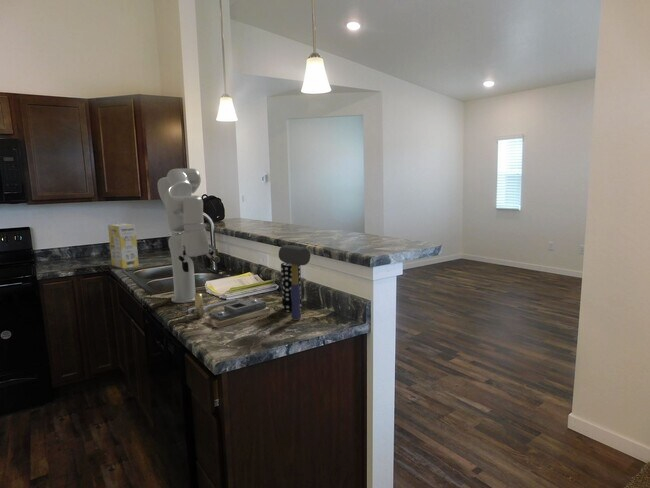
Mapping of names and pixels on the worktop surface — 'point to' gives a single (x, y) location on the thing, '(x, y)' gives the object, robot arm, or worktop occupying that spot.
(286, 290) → the spotted tube
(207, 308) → the adjustable wrench
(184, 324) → the worktop surface
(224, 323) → the oak jig
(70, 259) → the worktop surface
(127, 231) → the pasta box
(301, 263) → the rubber mallet
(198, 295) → the brass pin
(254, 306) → the pegged base plate
